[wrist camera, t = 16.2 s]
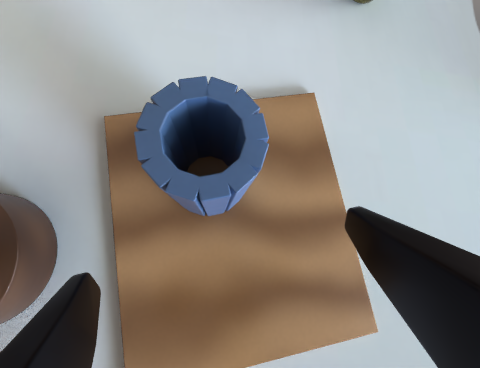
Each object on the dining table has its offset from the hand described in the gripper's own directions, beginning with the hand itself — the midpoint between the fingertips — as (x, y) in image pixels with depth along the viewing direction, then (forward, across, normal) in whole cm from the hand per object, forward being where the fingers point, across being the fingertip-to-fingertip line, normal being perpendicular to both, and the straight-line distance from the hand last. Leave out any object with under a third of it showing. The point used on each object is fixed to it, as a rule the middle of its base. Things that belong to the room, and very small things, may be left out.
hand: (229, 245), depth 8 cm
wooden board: (+8, -1, +6) cm, 10 cm away
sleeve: (+10, 0, +4) cm, 11 cm away
